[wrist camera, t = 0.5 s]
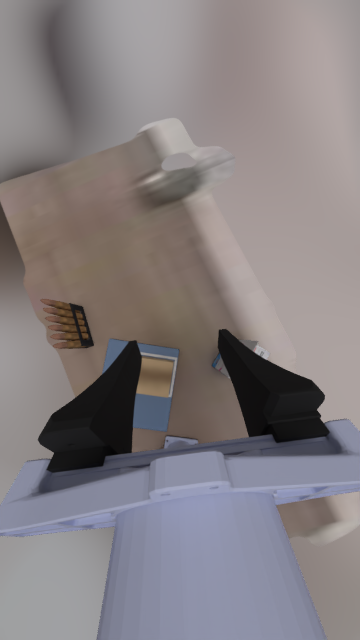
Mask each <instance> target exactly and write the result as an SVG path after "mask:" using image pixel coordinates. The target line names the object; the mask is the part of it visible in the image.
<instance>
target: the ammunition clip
mask: <svg viewBox="0 0 360 640" xmlns="http://www.w3.org/2000/svg"><path fill="white" fill-rule="evenodd" d="M40 301H41V302H43V303H44V304H46V305H49V306H52V307H55V308H57V309H55V308H43V310H44V311H45V312H47V313H50V314H54V315H57V316H60V317H56V316H49V317H46V318H45V319H46V320H48V321H51V322H55V323H60V324H63V325H51V326H48V328H49V329H51V330H55V331H62V332H68V333H62V334H54V335H51V336H50V337H51V338H53V339H57V340H67V342H61V343H57V344H55V345H53V347H54V348H59V349H63V348H68V349H72V348H88V347H91V346H94V344H93V340H92V337H91V333H90V330H89V327H88V323H87V320H86V316H85V313H84V310H83V307H82V306H78V305H75V304H71V303H69V304H67V303H64V302H60V301H54V300H49V299H41V300H40ZM69 340H72V341H69ZM75 340H76V341H75Z"/></svg>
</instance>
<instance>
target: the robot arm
mask: <svg viewBox="0 0 360 640" xmlns="http://www.w3.org/2000/svg"><path fill="white" fill-rule="evenodd" d="M218 349H219V352H220V355H221V358H222V361H223V363H224V365H225V367H226V370H227V372H228V374H229V376H230V378H231V381H232V383H233V386H234V389H235V392H236V395H237V398H238V401H239V404H240V407H241V411H242V414H243V417H244V421H245V424H246V428H247V432H248V435H249V437H248V438H240V439H233V440H225V441H218V442H210V443H203V444H198V441H197V440H196V439H189V438H181V437H174V436H166V438H165V445H164V449H157V450H150V451H142V452H135V453H132V432H133V418H134V406H135V397H136V391H137V386H138V381H139V377H140V371H141V364H142V355H141V353H140V350H139V347H138V344H137V341H129V342H128V344H127V345H126V346H125V348H124V349H123V350H122V352H121V353H120V354H119V356H118V357H117V358H116V359H115V361H114V362H113V363H112V364H111V365H110V366H109V368H108V369H107V370H106V371H105V372H104V373H103V374H102V375H101V376H100V377H99V378H98V379H97V380H96V381H95V382H94V383H93V384H92V385H90V386H89V387H88V388H87V389H86V390H85V391H83V392H82V393H81V394H80V395H78V396H77V397H76V398H75V399H73V400H72V401H71V402H69V403H68V404H66V405H65V406H63V407H62V408H61V409H59V410H58V411H56V412H55V413H53V414H52V415H51V417H50V419H49V420H48V422H47V424H46V426H45V427H44V429H43V431H42V432H41V434H40V436H39V438H38V441H39V443H40V444H41V445H42V446H44V447H46V448H47V449H49V450H51V451H52V452H54V455H53V457H52V459H39V460H31V461H27V462H25V463H24V465H23V467H22V469H21V470H20V472H19V474H18V476H17V478H16V479H15V481H14V483H13V484H12V486H11V488H10V489H9V491H8V493H7V495H6V496H5V498H4V500H3V502H2V503H1V505H0V536H15V537H24V536H32V535H40V534H48V533H57V532H66V531H76V530H87V529H96V528H106V527H115V531H114V538H113V543H112V550H111V555H110V561H109V568H108V574H107V580H106V586H105V592H104V599H103V604H102V610H101V616H100V622H99V628H98V634H97V640H327V637H326V635H325V633H324V630H323V627H322V624H321V622H320V619H319V617H318V614H317V611H316V609H315V606H314V604H313V601H312V598H311V596H310V593H309V590H308V588H307V585H306V583H305V580H304V577H303V575H302V572H301V570H300V567H299V564H298V562H297V559H296V557H295V554H294V551H293V549H292V546H291V543H290V541H289V538H288V536H287V533H286V530H285V528H284V525H283V523H282V520H281V517H280V515H279V512H278V510H277V507H276V505H279V504H285V503H290V502H296V501H302V500H308V499H313V498H319V497H325V496H331V495H337V494H343V493H350V492H357V491H360V431H359V430H358V429H357V428H356V427H355V426H354V425H353V423H352V422H351V421H350V420H349V419H340V420H333V421H328V422H325V423H323V422H322V421H321V419H320V418H321V415H320V413H319V412H318V411H317V409H318V408H319V406H320V405H321V404H322V403H323V401H324V399H325V395H324V394H323V392H322V391H321V390H320V389H319V388H318V387H317V385H315V383H314V382H313V381H312V380H310V379H307V378H305V377H302V376H299V375H297V374H294V373H292V372H290V371H288V370H285V369H283V368H281V367H279V366H277V365H275V364H273V363H271V362H270V361H268V360H266V359H264V358H263V357H261V356H260V355H258V354H256V353H255V352H253V351H252V350H251V349H249V348H248V347H247V346H245V345H244V344H243V343H242V342H240V341H239V340H238V339H237V338H236V337H234V336H233V335H232V334H231V333H230V332H229V331H228V330H226V329H222V330H219V337H218ZM166 440H168V441H166Z"/></svg>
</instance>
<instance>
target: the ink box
mask: <svg viewBox="0 0 360 640" xmlns="http://www.w3.org/2000/svg"><path fill="white" fill-rule="evenodd" d="M239 341H240V342H242V343H243V344H244V345H245V346H247V347H248V348H249V349H251V350H252V351H253V352H255V353H256V354H258V355H260V356H261V357H263V358H264V359H266V360H267V358H268V356H269V354H270V353H269V352H268V351H266V350H265V349H263V348H262V347H260V346H259V345H258V341H251V340H239ZM212 366H213V367H214V368H216V369H217V370H219V371H220V372H221V373H223V374H224V375H226V376H227V377H228V378H230V376H229V374H228V372H227V370H226V367H225V365H224V363H223V361H222V358H221V355H220V353H219V355H218V356H217V358H216V360H215V361H214V363H213V365H212ZM230 379H231V378H230Z"/></svg>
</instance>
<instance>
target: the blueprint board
mask: <svg viewBox="0 0 360 640" xmlns="http://www.w3.org/2000/svg"><path fill="white" fill-rule="evenodd" d="M127 344H128V341H121V340H115V339H109V344H108V348H107V353H106V358H105V363H104V368H103V372H102V374H103V373H104V372H105V371H106V370H107V369H108V368H109V366H110V365H111V364H112V363H113V362H114V361H115V359H116V358H117V357H118V356H119V354H120V353H121V352H122V350H123V349H124V348H125V346H126V345H127ZM137 344H138V347H139V350H140V353H141V355H142V356H146V357H152V358H159V359H166V360H172V361H174V364H173V371H172V377H171V384H170V390H169V396H168V398H166V397H159V396H152V395H145V394H138V393H136V397H135V406H134V418H133V427H134V428H142V429H150V430H157V431H165V432H167V426H168V419H169V413H170V406H171V400H172V393H173V387H174V380H175V374H176V367H177V361H178V354H179V349H173V348H167V347H160V346H154V345H147V344H141V343H137Z"/></svg>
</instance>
